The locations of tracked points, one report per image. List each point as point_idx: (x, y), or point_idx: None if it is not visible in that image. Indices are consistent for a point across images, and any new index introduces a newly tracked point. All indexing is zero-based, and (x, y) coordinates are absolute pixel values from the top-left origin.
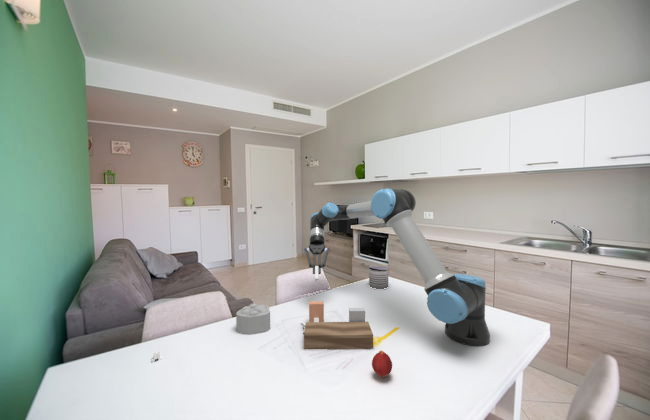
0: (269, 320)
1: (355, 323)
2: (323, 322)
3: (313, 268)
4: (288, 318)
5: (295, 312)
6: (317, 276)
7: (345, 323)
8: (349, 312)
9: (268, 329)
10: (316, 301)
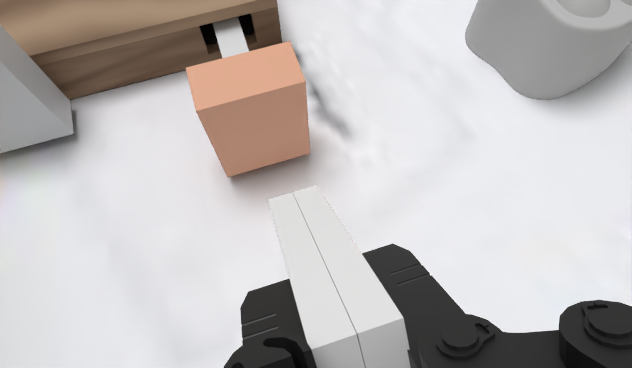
0: (480, 2)
1: None
2: (182, 14)
3: (430, 299)
4: (447, 162)
5: (453, 251)
6: (284, 207)
7: (62, 32)
8: (8, 43)
9: (467, 28)
10: (250, 92)
